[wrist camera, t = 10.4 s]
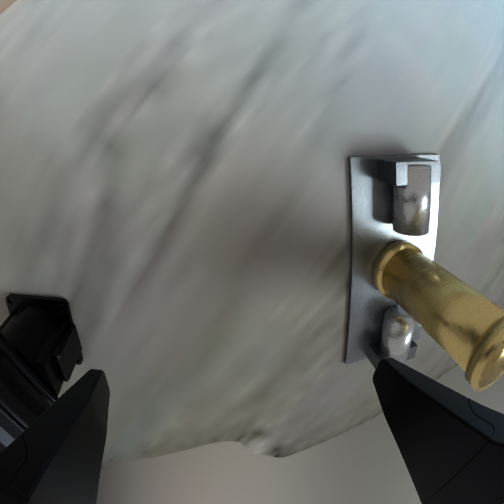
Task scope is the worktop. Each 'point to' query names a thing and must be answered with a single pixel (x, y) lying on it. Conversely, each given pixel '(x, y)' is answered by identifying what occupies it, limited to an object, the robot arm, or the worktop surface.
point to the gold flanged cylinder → (445, 310)
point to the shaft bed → (378, 238)
